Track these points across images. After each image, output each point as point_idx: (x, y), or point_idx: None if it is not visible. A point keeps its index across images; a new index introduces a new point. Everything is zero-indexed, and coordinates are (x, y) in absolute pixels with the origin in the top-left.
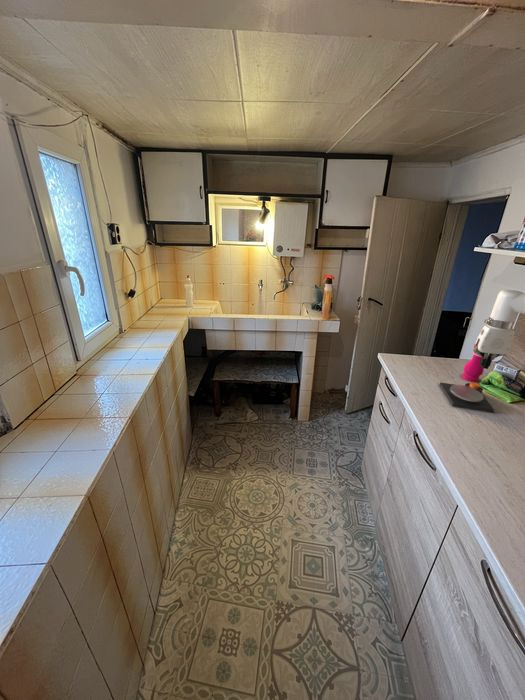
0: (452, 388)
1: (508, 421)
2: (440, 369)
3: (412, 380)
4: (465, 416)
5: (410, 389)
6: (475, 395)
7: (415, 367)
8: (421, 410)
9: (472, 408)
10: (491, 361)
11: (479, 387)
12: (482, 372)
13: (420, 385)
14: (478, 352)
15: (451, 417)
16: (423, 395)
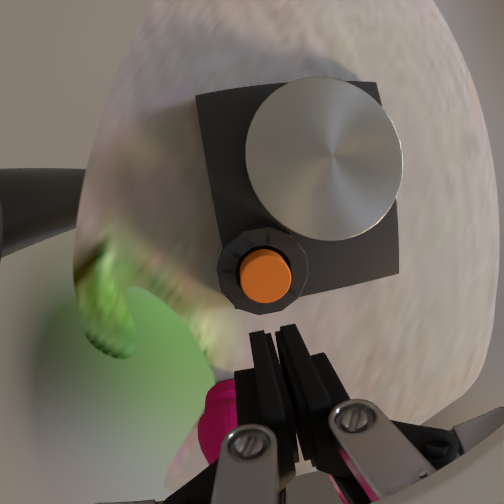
0: (395, 171)
1: (154, 63)
2: None
3: (466, 254)
4: (325, 30)
5: (478, 174)
6: (290, 135)
7: (424, 371)
8: (445, 45)
9: None
10: (239, 414)
11: (233, 284)
12: (202, 423)
13: (452, 224)
14: (473, 433)
15: (370, 17)
16: (451, 141)
